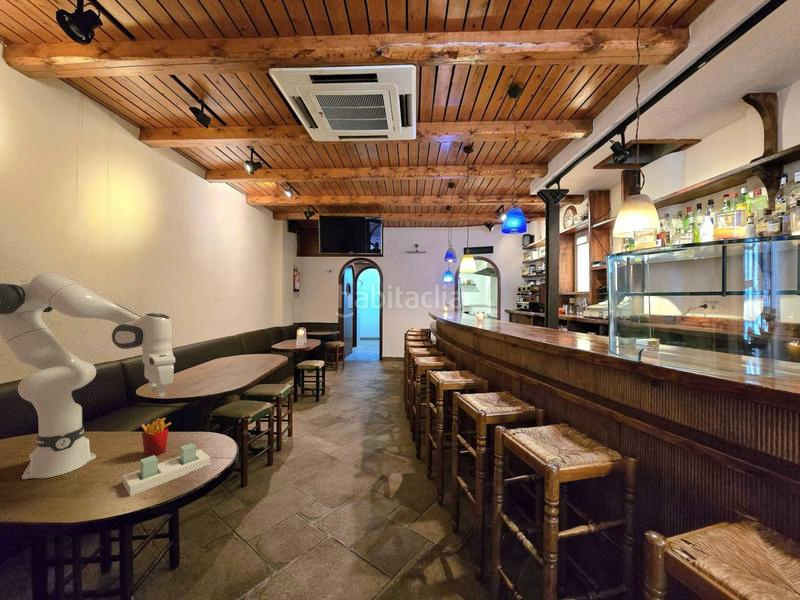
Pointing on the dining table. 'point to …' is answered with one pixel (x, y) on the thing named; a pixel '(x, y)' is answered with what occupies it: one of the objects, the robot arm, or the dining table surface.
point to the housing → (168, 469)
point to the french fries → (155, 437)
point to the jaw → (148, 467)
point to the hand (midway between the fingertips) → (157, 393)
